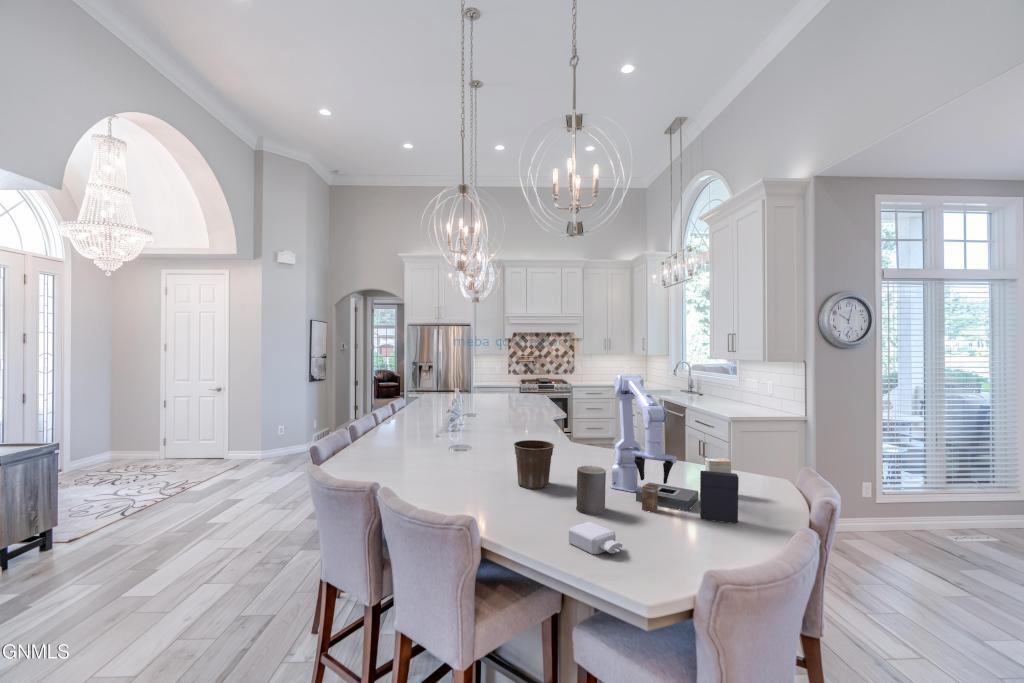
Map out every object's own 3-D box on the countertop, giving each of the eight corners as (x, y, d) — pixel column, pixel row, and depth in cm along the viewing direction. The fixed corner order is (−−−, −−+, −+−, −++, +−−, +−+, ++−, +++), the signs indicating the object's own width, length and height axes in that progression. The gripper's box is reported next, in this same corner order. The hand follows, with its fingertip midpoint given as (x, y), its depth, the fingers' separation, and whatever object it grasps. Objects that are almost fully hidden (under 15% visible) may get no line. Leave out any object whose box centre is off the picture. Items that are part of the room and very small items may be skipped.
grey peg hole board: (635, 501, 170) (636, 491, 170) (648, 491, 181) (649, 482, 181) (687, 511, 160) (688, 500, 160) (698, 500, 171) (698, 490, 171)
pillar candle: (570, 509, 160) (571, 465, 160) (586, 502, 167) (587, 460, 167) (595, 517, 153) (595, 471, 153) (611, 510, 161) (611, 465, 160)
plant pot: (555, 491, 180) (555, 448, 180) (512, 490, 180) (513, 448, 181) (552, 479, 197) (552, 440, 197) (513, 478, 197) (513, 439, 197)
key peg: (641, 510, 160) (641, 486, 160) (645, 507, 164) (645, 483, 164) (653, 512, 158) (653, 488, 158) (657, 509, 161) (657, 485, 162)
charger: (609, 564, 120) (568, 544, 132) (633, 555, 126) (591, 537, 138) (609, 545, 120) (568, 527, 132) (633, 537, 126) (592, 520, 138)
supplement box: (727, 492, 181) (727, 458, 182) (731, 496, 177) (731, 461, 177) (704, 491, 182) (704, 457, 182) (708, 495, 178) (708, 460, 178)
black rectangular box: (736, 519, 152) (736, 472, 153) (738, 524, 148) (738, 476, 149) (699, 515, 156) (700, 469, 156) (700, 520, 152) (700, 472, 152)
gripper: (629, 440, 162) (629, 480, 162) (673, 445, 155) (673, 487, 154) (635, 437, 168) (635, 476, 168) (678, 442, 161) (677, 482, 160)
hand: (653, 481), depth 162 cm, fingers open, 7 cm apart
